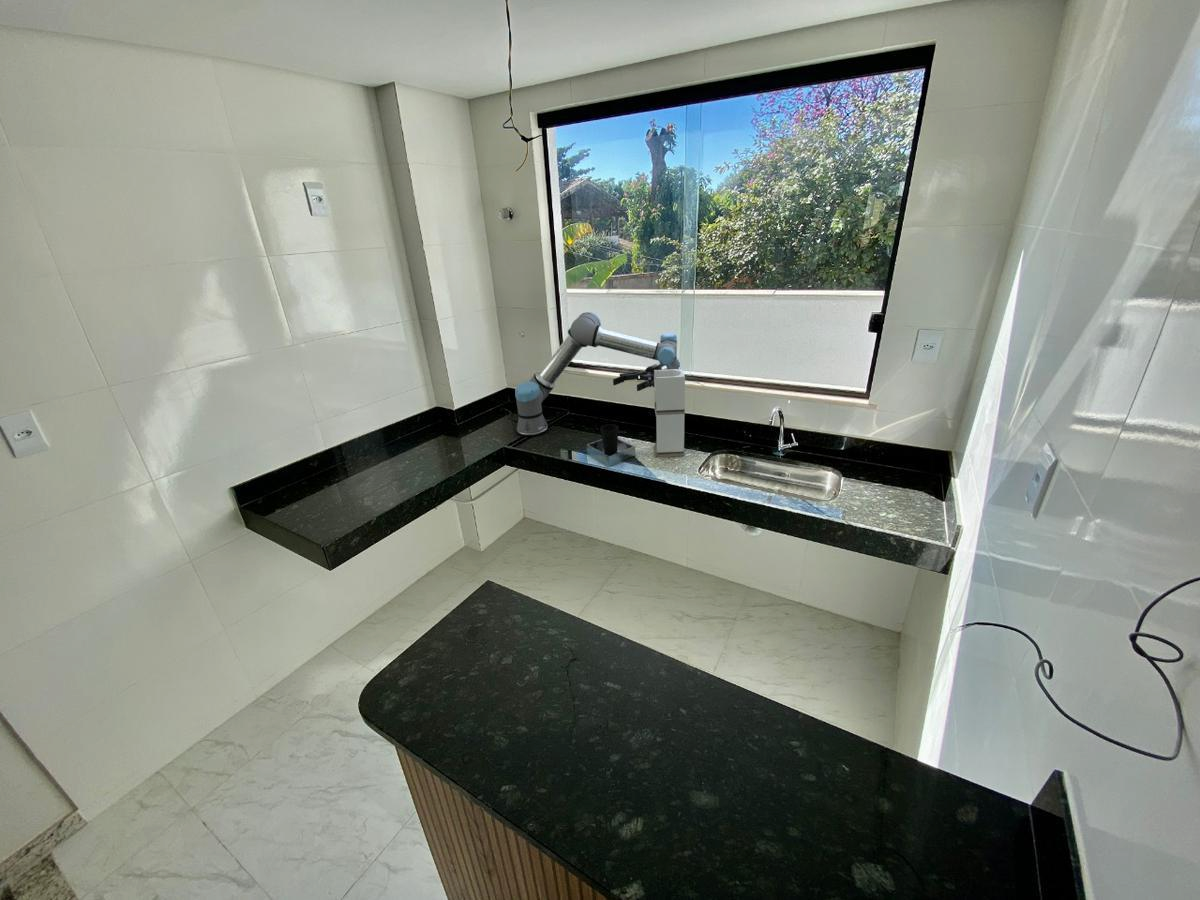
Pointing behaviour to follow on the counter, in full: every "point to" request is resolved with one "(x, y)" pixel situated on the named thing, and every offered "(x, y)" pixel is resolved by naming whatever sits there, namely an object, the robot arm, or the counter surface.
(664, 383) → the grey square pillar
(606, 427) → the cup
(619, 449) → the translucent shallow box
